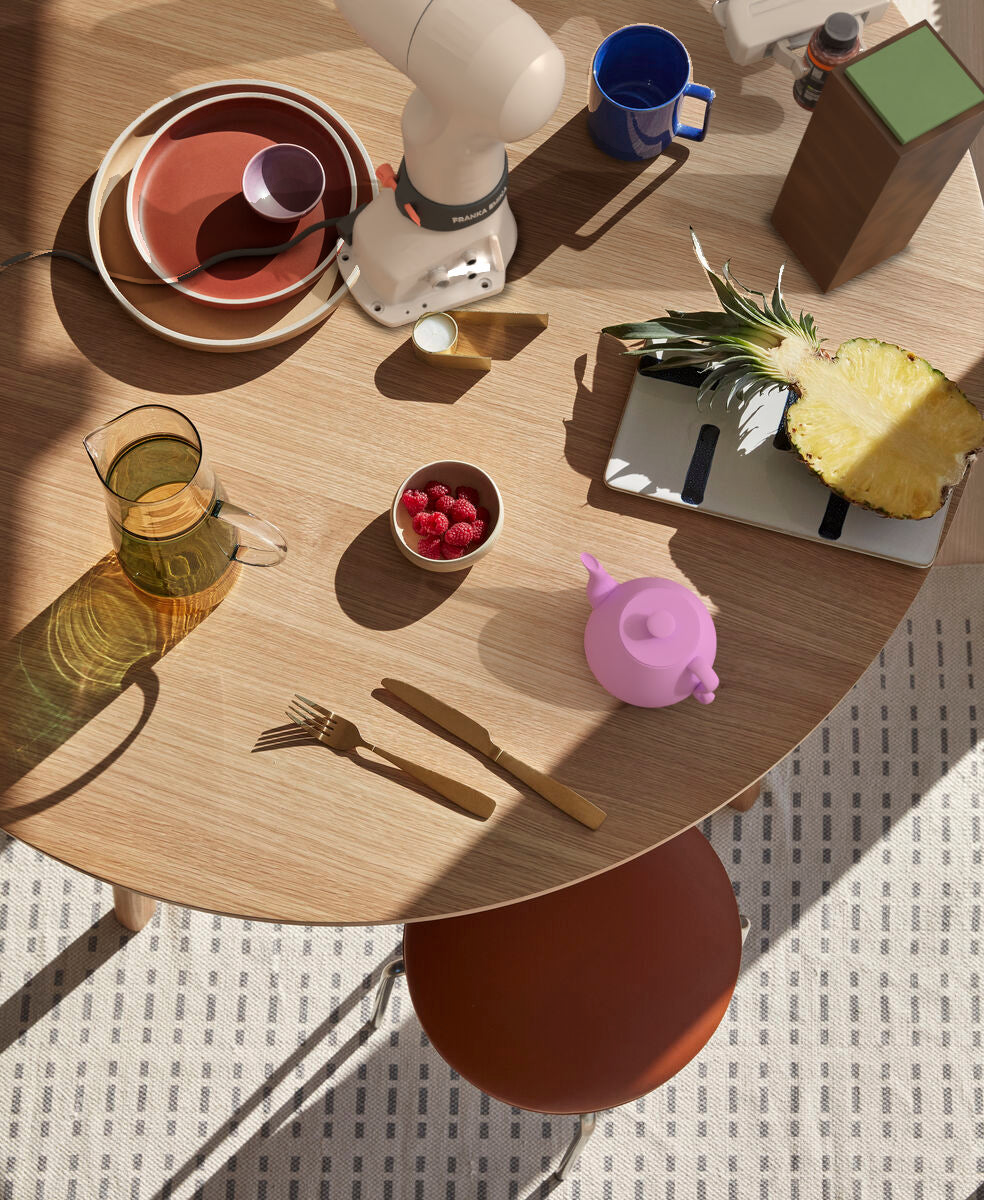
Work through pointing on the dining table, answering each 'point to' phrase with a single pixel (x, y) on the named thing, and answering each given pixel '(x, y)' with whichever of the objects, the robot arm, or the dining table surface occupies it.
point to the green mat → (914, 85)
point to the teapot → (648, 639)
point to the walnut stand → (864, 178)
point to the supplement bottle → (826, 56)
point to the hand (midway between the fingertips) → (832, 65)
